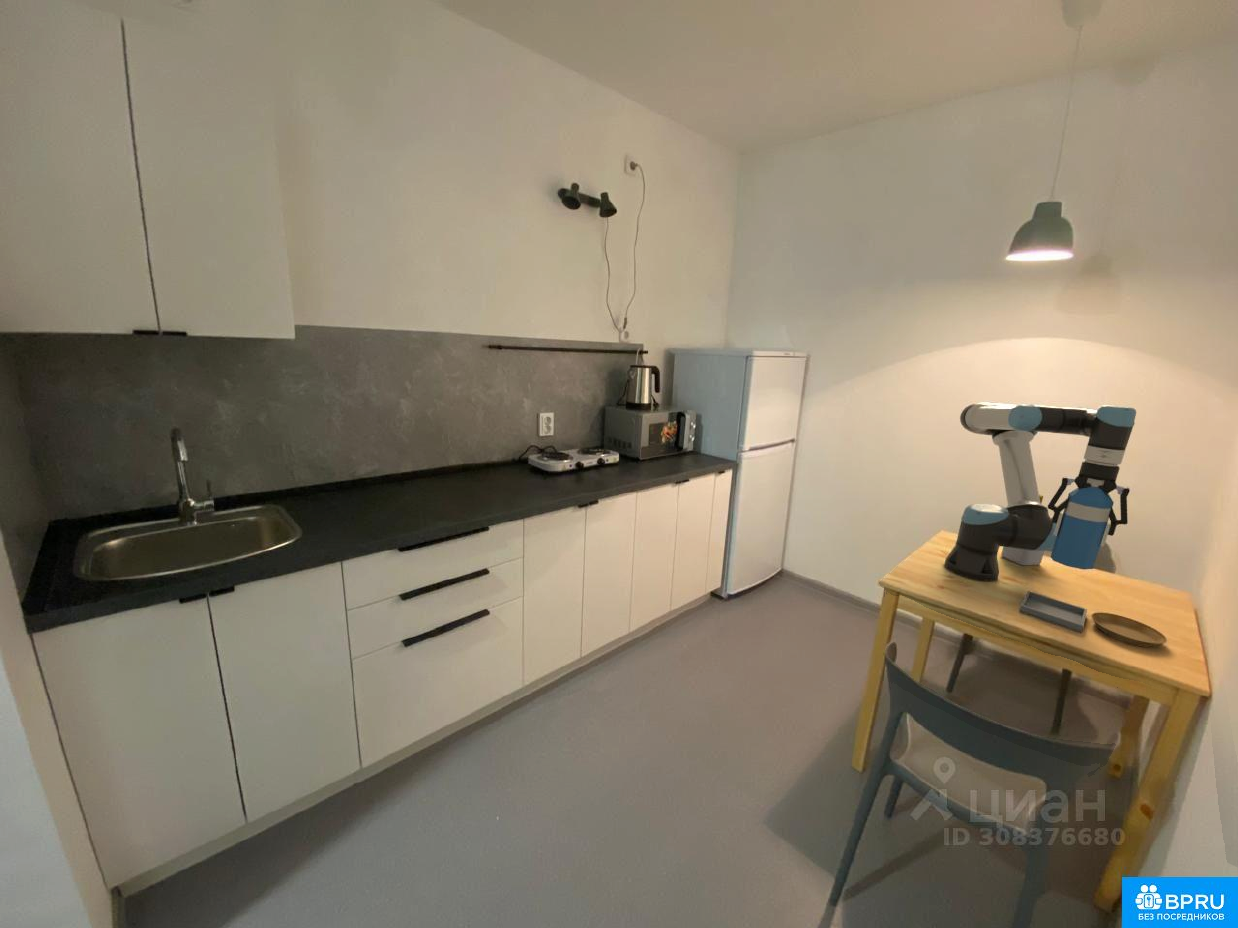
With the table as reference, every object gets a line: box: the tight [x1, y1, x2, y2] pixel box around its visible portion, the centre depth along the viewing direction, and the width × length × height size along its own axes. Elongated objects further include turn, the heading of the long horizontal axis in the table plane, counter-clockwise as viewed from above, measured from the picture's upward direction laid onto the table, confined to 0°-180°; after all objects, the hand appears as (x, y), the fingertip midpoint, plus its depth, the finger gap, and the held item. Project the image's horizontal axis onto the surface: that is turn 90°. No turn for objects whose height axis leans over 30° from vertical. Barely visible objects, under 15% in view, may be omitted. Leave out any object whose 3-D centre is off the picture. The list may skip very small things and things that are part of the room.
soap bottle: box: [1001, 494, 1045, 566], centre depth 178 cm, size 9×9×25 cm
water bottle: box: [1050, 478, 1114, 570], centre depth 139 cm, size 9×9×25 cm
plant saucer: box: [1090, 611, 1168, 648], centre depth 135 cm, size 15×15×3 cm
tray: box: [1018, 590, 1088, 634], centre depth 144 cm, size 14×14×2 cm
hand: (1078, 539), depth 140 cm, fingers closed on water bottle, 9 cm apart
